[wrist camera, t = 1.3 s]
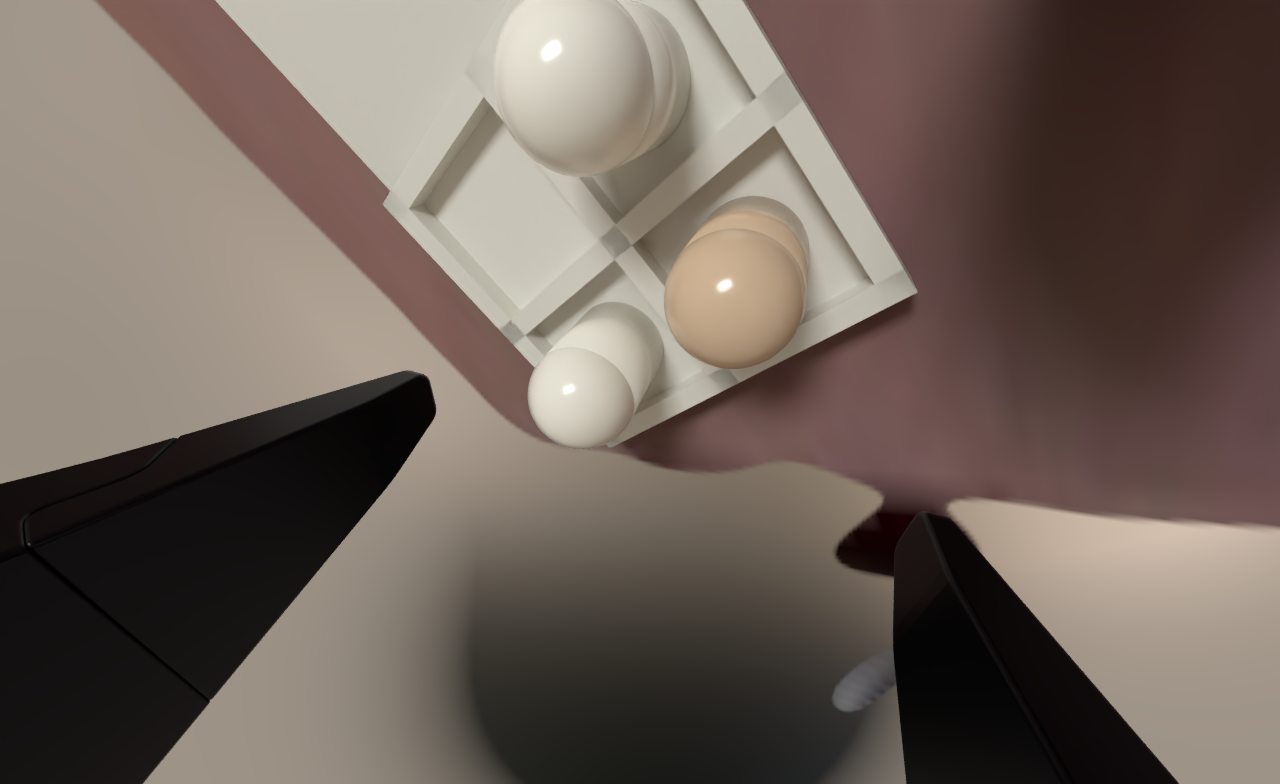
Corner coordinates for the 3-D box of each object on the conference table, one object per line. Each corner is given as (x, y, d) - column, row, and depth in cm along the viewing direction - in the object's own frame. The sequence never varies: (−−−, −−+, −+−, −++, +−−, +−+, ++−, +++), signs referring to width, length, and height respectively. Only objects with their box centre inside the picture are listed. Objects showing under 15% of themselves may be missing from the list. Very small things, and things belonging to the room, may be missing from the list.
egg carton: (910, 275, 17) (918, 292, 16) (619, 430, 26) (610, 448, 25) (128, -1030, 9) (14, -1210, 8) (94, -147, 18) (39, -163, 17)
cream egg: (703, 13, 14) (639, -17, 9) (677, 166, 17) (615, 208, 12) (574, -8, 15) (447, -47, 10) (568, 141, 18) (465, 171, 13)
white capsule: (671, 316, 21) (621, 399, 15) (655, 393, 23) (608, 486, 18) (580, 290, 21) (504, 361, 16) (575, 368, 24) (508, 450, 19)
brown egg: (828, 211, 16) (831, 276, 11) (786, 319, 19) (774, 413, 14) (708, 184, 17) (659, 233, 12) (684, 292, 20) (636, 371, 15)
